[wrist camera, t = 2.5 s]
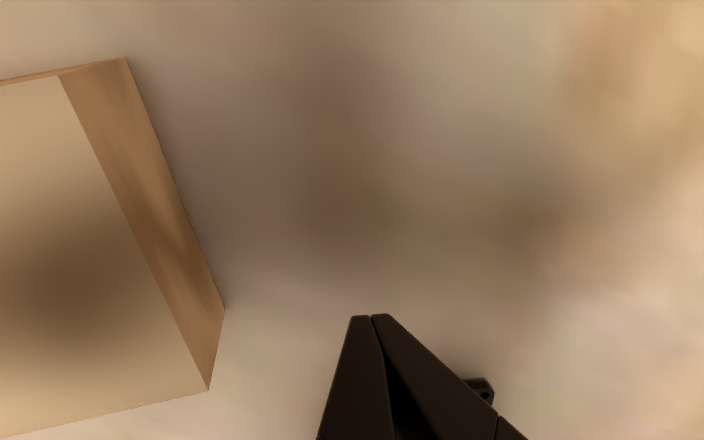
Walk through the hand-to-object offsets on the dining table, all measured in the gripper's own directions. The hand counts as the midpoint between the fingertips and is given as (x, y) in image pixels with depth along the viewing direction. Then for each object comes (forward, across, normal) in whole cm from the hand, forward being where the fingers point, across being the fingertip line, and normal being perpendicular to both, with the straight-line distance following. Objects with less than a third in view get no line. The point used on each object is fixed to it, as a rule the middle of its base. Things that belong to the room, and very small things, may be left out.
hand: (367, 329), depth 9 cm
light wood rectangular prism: (+6, +8, 0) cm, 10 cm away
